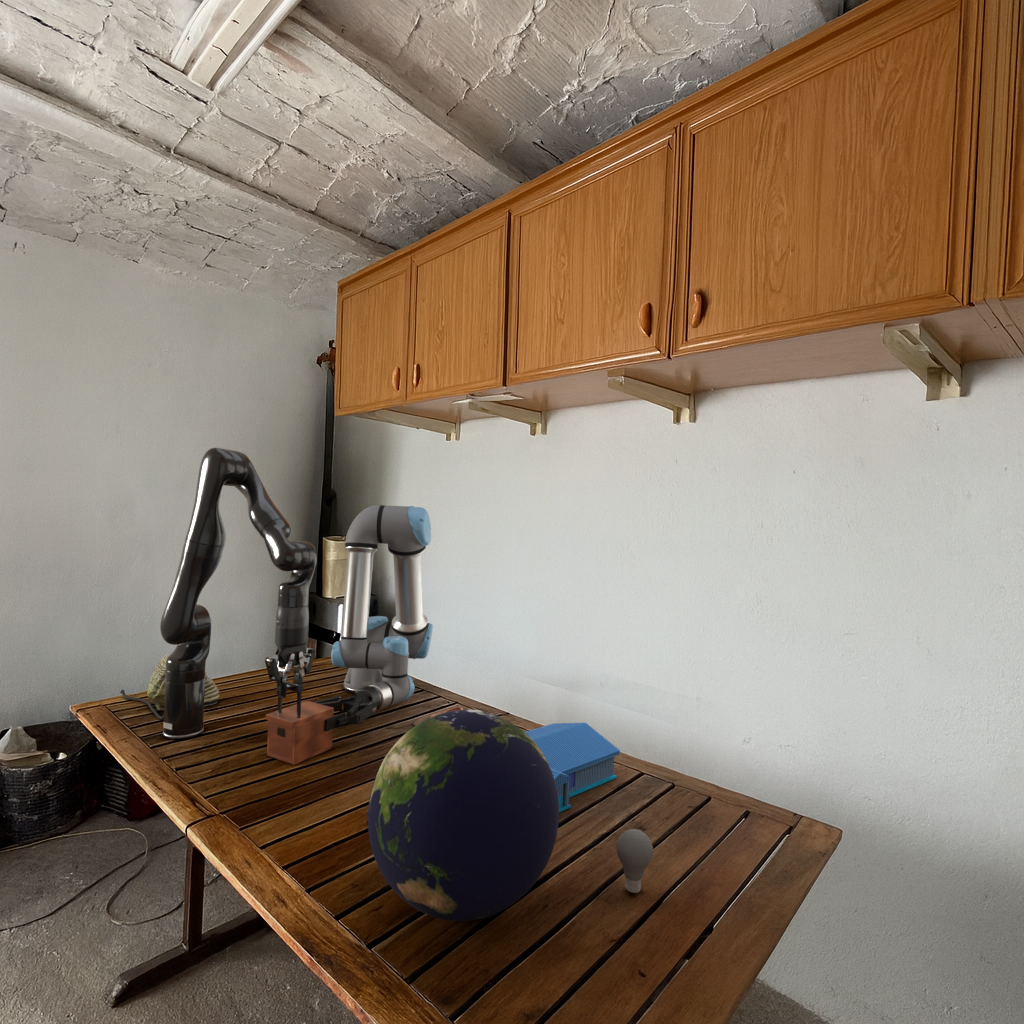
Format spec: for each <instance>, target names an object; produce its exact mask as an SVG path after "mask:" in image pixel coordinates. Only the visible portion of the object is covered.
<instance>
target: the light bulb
mask: <svg viewBox="0 0 1024 1024" xmlns="http://www.w3.org/2000/svg"><path fill="white" fill-rule="evenodd" d="M615 849H616V854H617V857H618V859H619V861H620V863H621V865H622V867H623V873H624V874H623V875H624V876H625V878H624V888H625V890H627V891H628V892H630V893H634V894H635V893H639V892H640V891H641V889H642V887H641V886H642V879H643V877H644V875H645V871H646V868H647V867H648V866H649V864H650V863H651V861H652V859H653V855H654V847H653V843H652V841H651V838H649V836H648V835H647V834H646V833H645V832H643V831H642V830H641V829H636V828H629V829H627V830H625V831H623V832H622V833H621V834H620V835H619V837H618V839H617V841H616V847H615Z"/></svg>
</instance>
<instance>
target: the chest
mask: <svg viewBox="0 0 1024 1024" xmlns="http://www.w3.org/2000/svg"><path fill="white" fill-rule="evenodd" d="M331 717H334V713H331V714H329V715H326V716H323V717H321V718H318V719H315V720H313V721H310V722H307V723H305V724H302V725H299V726H297V727H294V728H292V727H288V726H285V725H282V724H278V723H275V722H272V721H269V720H267V745H266V746H267V747H266V756H267V757H270V758H273V759H276V760H278V761H282V762H285V763H287V764H290V765H293V766H295V765H297V764H300V763H302V762H304V761H306V760H308V759H311V758H313V757H315V756H318V755H320V754H322V753H324V752H327V751H329V750H331V749H333V736H334V729H331V730H329V731H324V726H325V720H326V719H328V718H331Z"/></svg>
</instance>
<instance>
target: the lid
mask: <svg viewBox="0 0 1024 1024" xmlns="http://www.w3.org/2000/svg"><path fill="white" fill-rule="evenodd" d="M286 682H287V689H286V691H291V692H293V691H295V692H297V693H296V704H292V705H290V706H287V707H284V708H283V698H280V697H278V696H277V710H275V711H272V712H269V713H266V714H265V720H266V721H268V720H269V721H272V722H275V723H278V724H282V725H285V726H288V727H292V728H294V727H297V726H299V725H302V724H305V723H307V722H310V721H313V720H315V719H318V718H321V717H323V716H326V715H329V714H331V713H333V714H334V708H333V707H329V706H325V705H321V704H318V703H314V701H311V700H310V701H309V700H305V701H302V693H303V692H304V688H305V687H304V685H298V684H294V683H293V682H290V681H286ZM276 686H277V683H276Z"/></svg>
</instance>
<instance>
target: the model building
mask: <svg viewBox="0 0 1024 1024" xmlns="http://www.w3.org/2000/svg"><path fill="white" fill-rule="evenodd" d="M524 732H525V733H526V734H527V735H528V736H529V737H530V738H531V739H532V740H533V741H534V742H535V743H536V744H537V746H538V747H539V748H540V750H541V751H542V753H543V754H544V756H545V758H546V760H547V761H548V764H549V766H550V769H551V771H552V774H553V777H554V780H555V784H556V788H557V793H558V801H559V813H562V812H563V811H566V810H569V809H571V808H572V805H571V804H570V798H572V797H575V796H577V795H580V794H582V793H585V792H587V791H589V790H591V789H594V788H597V787H599V786H601V785H603V784H605V783H609V782H610V781H613V780H615V779H617V778H618V776H617V775H616V774H614V771H615V770H614V768H615V767H614V765H615V757H617V756H620V754H621V750H620V749H619V748H618V747H617V746H616V745H614V744H613V743H612V742H611V741H610V740H607V738H605V737H604V736H603V735H601V734H600V733H599V732H598V731H597V730H596V729H594V728H593V727H592V726H591V725H589V724H588V723H587V722H560V723H559V722H558V723H555V722H554V723H550V724H546V725H544V726H543V725H542V726H540V727H537V728H533V729H530V730H526V731H524Z"/></svg>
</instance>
